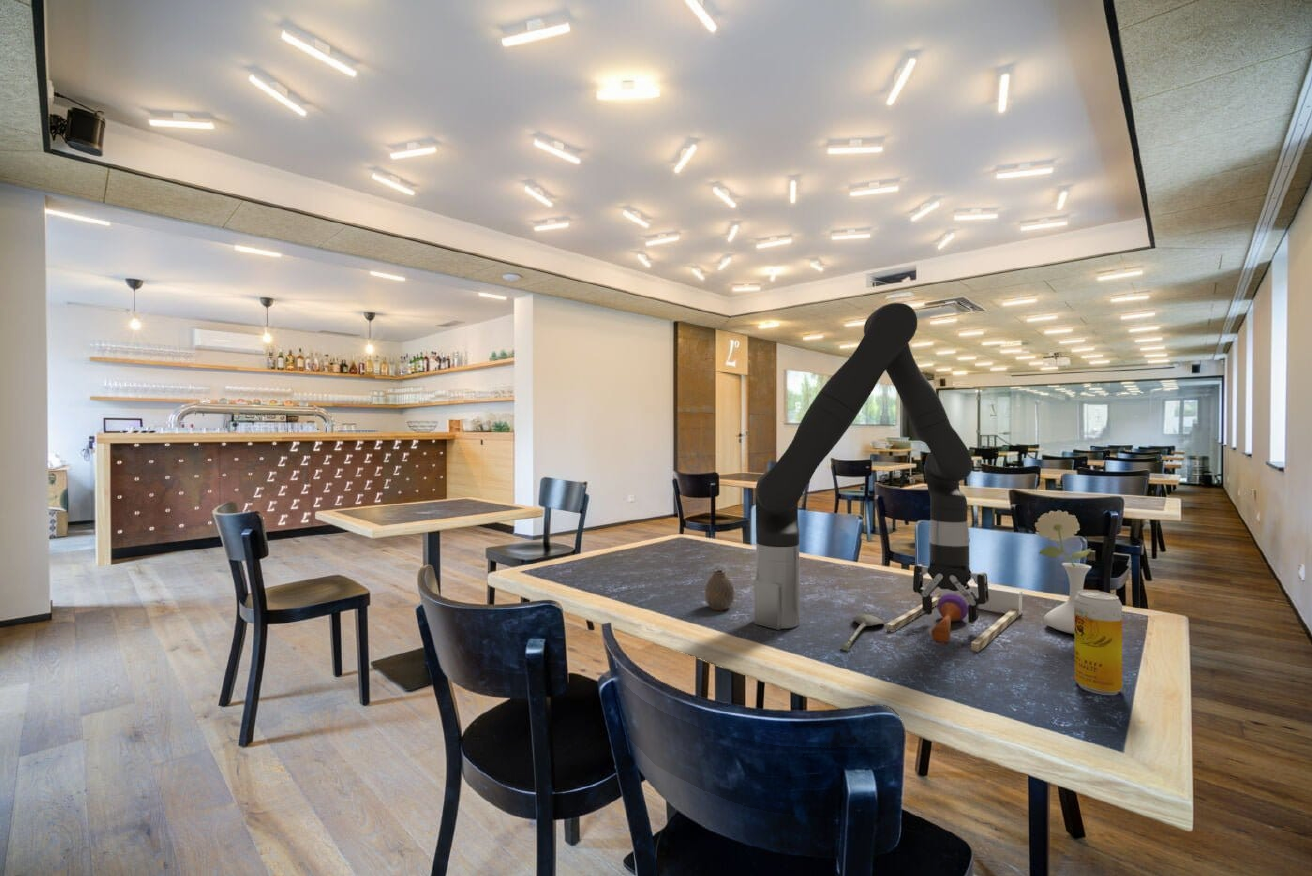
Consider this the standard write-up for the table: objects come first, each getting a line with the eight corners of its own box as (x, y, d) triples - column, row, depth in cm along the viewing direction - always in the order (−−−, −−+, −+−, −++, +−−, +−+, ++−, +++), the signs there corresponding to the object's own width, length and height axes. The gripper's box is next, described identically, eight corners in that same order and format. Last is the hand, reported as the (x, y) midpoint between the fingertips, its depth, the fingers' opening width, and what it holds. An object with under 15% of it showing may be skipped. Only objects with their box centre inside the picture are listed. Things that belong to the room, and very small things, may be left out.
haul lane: (978, 652, 108) (978, 644, 108) (886, 630, 120) (886, 623, 120) (1018, 615, 130) (1018, 609, 130) (938, 601, 142) (938, 594, 142)
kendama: (921, 620, 115) (937, 590, 132) (927, 649, 115) (943, 616, 132) (953, 619, 112) (966, 589, 128) (960, 650, 112) (972, 616, 128)
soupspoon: (888, 628, 125) (857, 624, 129) (887, 612, 126) (856, 608, 129) (862, 655, 107) (827, 650, 111) (861, 637, 107) (826, 632, 111)
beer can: (1065, 681, 95) (1064, 590, 95) (1099, 679, 96) (1099, 589, 96) (1096, 697, 89) (1096, 600, 89) (1132, 695, 89) (1132, 599, 90)
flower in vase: (1114, 631, 120) (1113, 511, 120) (1108, 645, 111) (1108, 516, 112) (1040, 618, 129) (1039, 506, 129) (1029, 630, 120) (1029, 510, 120)
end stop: (1018, 615, 130) (1018, 593, 130) (938, 601, 142) (938, 580, 142) (1022, 612, 132) (1022, 591, 132) (942, 598, 144) (942, 578, 144)
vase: (738, 606, 138) (738, 569, 138) (726, 613, 132) (726, 575, 132) (713, 602, 142) (713, 566, 142) (699, 609, 136) (699, 571, 136)
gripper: (907, 540, 124) (908, 615, 124) (981, 548, 114) (982, 630, 114) (920, 535, 129) (921, 607, 129) (991, 543, 120) (992, 621, 119)
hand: (949, 618), depth 122 cm, fingers open, 8 cm apart
